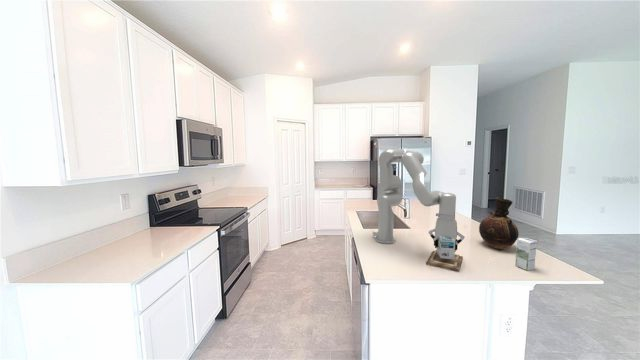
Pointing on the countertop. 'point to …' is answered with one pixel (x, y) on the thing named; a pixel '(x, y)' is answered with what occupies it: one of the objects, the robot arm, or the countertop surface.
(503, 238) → the ceramic vessel
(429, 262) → the brown shallow tray
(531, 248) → the syrup box
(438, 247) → the light bulb box
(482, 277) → the countertop surface
